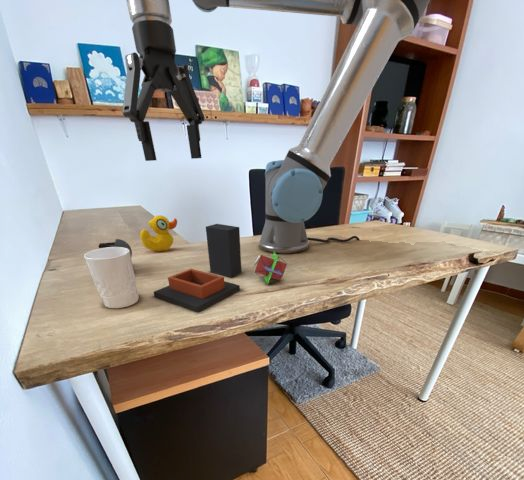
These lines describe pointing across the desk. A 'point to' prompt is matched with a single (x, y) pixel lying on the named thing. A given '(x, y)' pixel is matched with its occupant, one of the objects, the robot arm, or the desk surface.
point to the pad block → (224, 249)
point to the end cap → (116, 245)
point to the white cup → (113, 276)
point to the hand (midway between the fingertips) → (175, 159)
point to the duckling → (163, 236)
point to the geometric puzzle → (270, 267)
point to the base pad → (196, 289)
